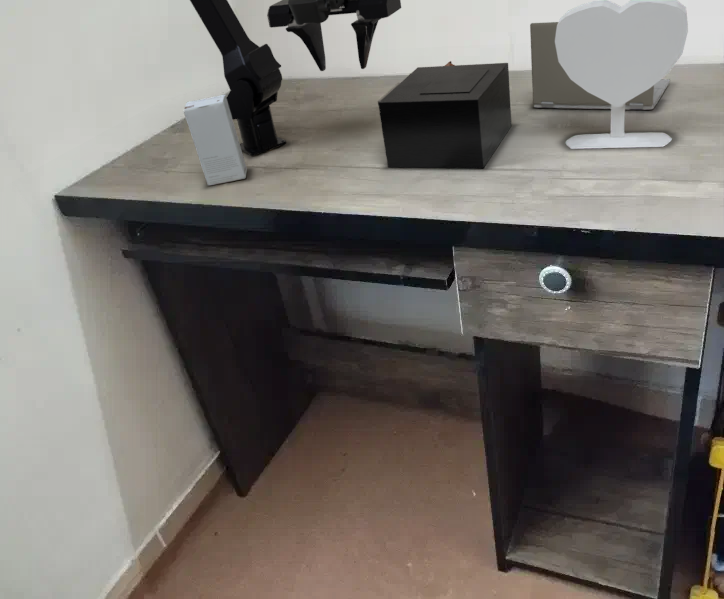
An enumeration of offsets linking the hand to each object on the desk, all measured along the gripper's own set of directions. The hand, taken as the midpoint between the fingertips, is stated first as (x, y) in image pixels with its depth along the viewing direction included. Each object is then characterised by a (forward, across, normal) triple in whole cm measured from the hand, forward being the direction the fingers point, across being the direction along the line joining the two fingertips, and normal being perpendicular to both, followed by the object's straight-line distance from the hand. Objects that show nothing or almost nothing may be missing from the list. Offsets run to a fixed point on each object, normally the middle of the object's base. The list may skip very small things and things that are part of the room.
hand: (343, 69), depth 107 cm
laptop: (+12, +34, +20) cm, 41 cm away
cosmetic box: (+12, -16, -13) cm, 24 cm away
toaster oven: (+12, +16, 0) cm, 20 cm away
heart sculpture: (+12, +38, +2) cm, 40 cm away
